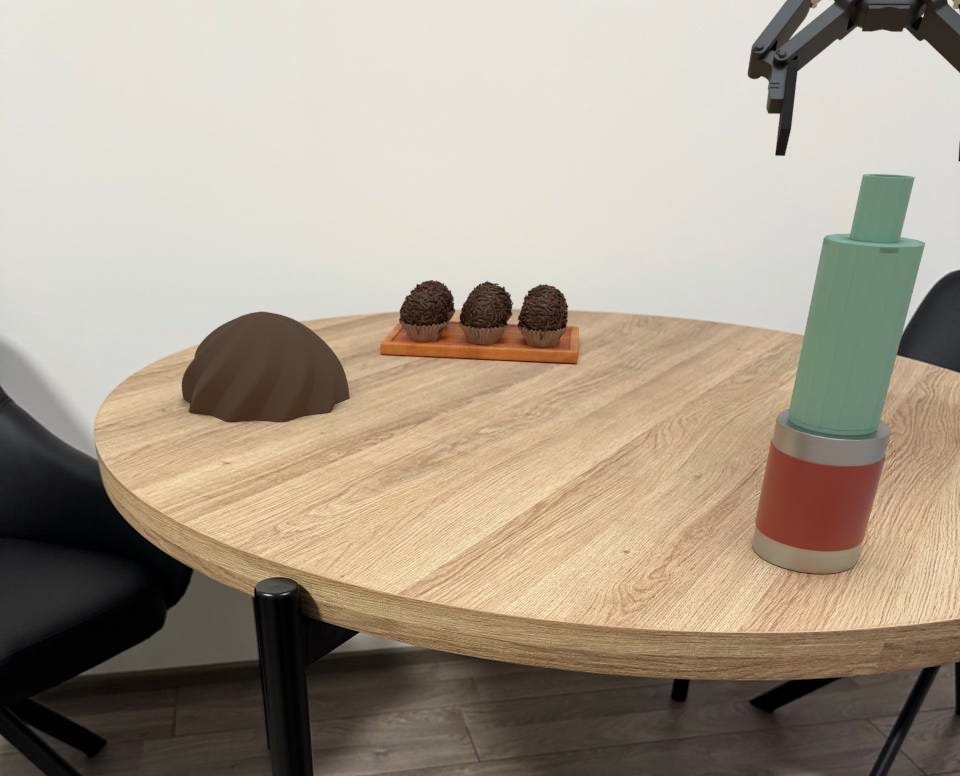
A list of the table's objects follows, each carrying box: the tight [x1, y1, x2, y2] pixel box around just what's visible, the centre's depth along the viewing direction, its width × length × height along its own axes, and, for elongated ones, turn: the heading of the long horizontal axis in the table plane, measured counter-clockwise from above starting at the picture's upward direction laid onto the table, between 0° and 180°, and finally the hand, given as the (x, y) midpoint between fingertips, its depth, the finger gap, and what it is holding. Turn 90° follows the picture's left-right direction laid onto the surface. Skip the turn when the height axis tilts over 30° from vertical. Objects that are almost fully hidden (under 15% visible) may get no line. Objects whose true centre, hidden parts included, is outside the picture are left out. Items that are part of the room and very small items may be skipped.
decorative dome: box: [181, 311, 350, 423], centre depth 107 cm, size 19×20×10 cm
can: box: [751, 408, 892, 575], centre depth 73 cm, size 9×9×11 cm
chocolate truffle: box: [379, 279, 580, 364], centre depth 133 cm, size 28×17×8 cm, turn 84°
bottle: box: [788, 173, 926, 436], centre depth 66 cm, size 7×7×17 cm
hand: (874, 145), depth 69 cm, fingers open, 13 cm apart
